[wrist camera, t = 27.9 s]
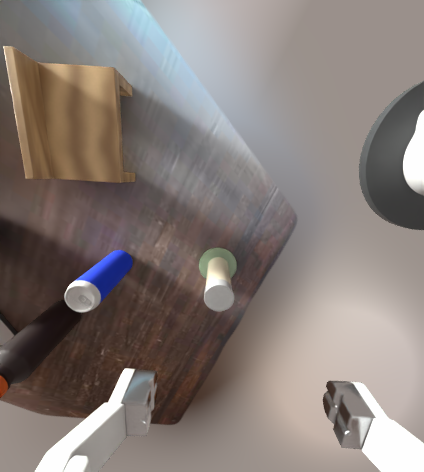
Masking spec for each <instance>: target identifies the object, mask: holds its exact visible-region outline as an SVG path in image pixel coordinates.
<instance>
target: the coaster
mask: <svg viewBox="0 0 424 472" xmlns="http://www.w3.org/2000/svg"><path fill="white" fill-rule="evenodd" d="M215 257H221V258H224V259H225V260H226V261H227V262H228V264H229V270H230V276H231V278H232V277H233V275H234V274H235V272H236V268H237V263H236V259H235V257H234V255H233V254H232V253H231V252H230V251H228V250H227V249H224V248H219V247H218V248H212V249H209V250H207V251H206V252H205V253H204V254H203V255H202V256H201V258H200V262H199V269H200V272H201V274H202V276H203V277H204V278H205V279H206V277H207V265H208V263H209V261H210V260H211V259H213V258H215Z"/></svg>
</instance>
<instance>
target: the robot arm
mask: <svg viewBox="0 0 424 472" xmlns="http://www.w3.org/2000/svg"><path fill="white" fill-rule="evenodd" d="M403 173H404V177H405V180H406V182H407V184H408V185H409V186H410V188H411V189H412V190H414V191H415V192H416V193H418V194H420V195H423V196H424V111H422V112H421V113H420V115H419V117H418V121H417V125H416V131H415V134H414V136H413V138H412V139H411V141H410V143H409V145H408V147H407V149H406V152H405V155H404V160H403ZM156 380H157V371H153V370H142V369H128V368H125V369H124V370H123V372H122V374H121V376H120V378H119V380H118V383H117V385H116V387H115V389H114V391H113V393H112V395H111V397H110V400H109V402H108V403H104V404H103V405H101V406H100V407H99V408H98V409H97V410H96V411H94V412H93V413H92V414H91V415H90V416H89V417H87V418H86V419H85V420H84V421H83V422H82V423H80V424H79V425H78V426H77V427H76V428H75V429H73V430H72V431H71V432H70V433H69V434H67V435H66V436H65V437H64V438H63V439H62V440H61V441H59V442H58V443H57V444H56V445H55V446H53V448H51V449H50V450H49V451H48V452H47V453H46V454H45V456H44V458H43V459H42V461H41V463H40V464H39V466H38V468H37V469H36V471H35V472H99V471H100V469H101V468H102V467H103V466H104V464H105V463H106V462H107V461H108V459H109V458H110V457H111V456H112V454H113V453H114V452H115V451H116V450H117V448H118V447H119V446H120V445H121V443H122V442H123V441H124V440H125V438H126V436H147V433H148V429H149V425H150V422H151V411H152V410H153V409H154V406H155V402H156V397H157V383H156ZM326 387H327V389H328V391H327V392H326V393H325V394H324V397H323V405H324V409H325V413H326V415H327V417H328V419H329V420H330V421H331V422H332V423H333V424H334V428H333V430H334V432H335V434H336V437H337V439H338V441H339V443H340V445H341V447H342V448H353V449H362V451H363V452H364V454H365V455H366V456H367V457H368V458H369V459H370V460H371V461H372V462H373V463H374V465H376V467H377V468H378V469H379V470H380V471H381V472H424V443H422V442H421V441H420V440H419V439H417V438H416V437H415V436H413V435H412V434H411V433H410V432H408V431H407V430H406V429H404V428H403V427H402V426H400V425H399V424H398V423H397V422H395V421H394V420H392V419H389V418H388V417H387V416H386V414H385V413H384V411H383V410H382V408H381V407H380V406H379V404H378V403H377V401H376V400H375V399H374V397H373V396H372V395H371V393H370V392H369V390H368V389H367V388H366V386H365V385H364V384H363V383H362V382H361V383H360V382H347V381H328V382H327V385H326Z"/></svg>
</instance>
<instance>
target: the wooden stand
mask: <svg viewBox="0 0 424 472" xmlns="http://www.w3.org/2000/svg"><path fill="white" fill-rule="evenodd" d="M4 52H5V58H6V63H7V69H8V75H9V81H10V87H11V93H12V99H13V105H14V110H15V116H16V122H17V128H18V134H19V140H20V146H21V152H22V157H23V163H24V169H25V175H26V179H67V180H82V181H98V182H114V183H124V182H134V181H135V173H130V172H124V170H123V150H122V130H121V109H120V96H130V97H132V86H131V85H130V84H129V83H128V82H127V81H126V79H125V78H124V77H123V76H122V75H121V74H120V73H119V72H118V71H117V70H116V69H115V68H113V67H98V66H83V65H67V64H52V63H38V62H36V61H35V60H33V59H31V58H30V57H28V56H27V55H25V54H23V53H22V52H20V51H19V50H17V49H15V48H14V47H7V46H4Z"/></svg>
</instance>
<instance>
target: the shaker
mask: <svg viewBox="0 0 424 472" xmlns="http://www.w3.org/2000/svg"><path fill="white" fill-rule="evenodd" d="M204 301H205V303H206V305H207V306H208V307H209V308H210V309H212V310H214V311H224V310H227V309H228V308H230V307H231V306H232V304H233V302H234V292H233V288H232V283H231V276H230V270H229V264H228V262H227V261H226V260H225V259H224V258H221V257H215V258H213V259H211V260H210V261H209V263H208V265H207V277H206V288H205V294H204Z"/></svg>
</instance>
